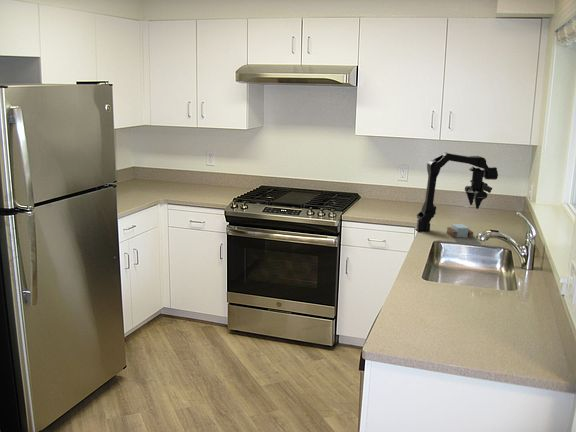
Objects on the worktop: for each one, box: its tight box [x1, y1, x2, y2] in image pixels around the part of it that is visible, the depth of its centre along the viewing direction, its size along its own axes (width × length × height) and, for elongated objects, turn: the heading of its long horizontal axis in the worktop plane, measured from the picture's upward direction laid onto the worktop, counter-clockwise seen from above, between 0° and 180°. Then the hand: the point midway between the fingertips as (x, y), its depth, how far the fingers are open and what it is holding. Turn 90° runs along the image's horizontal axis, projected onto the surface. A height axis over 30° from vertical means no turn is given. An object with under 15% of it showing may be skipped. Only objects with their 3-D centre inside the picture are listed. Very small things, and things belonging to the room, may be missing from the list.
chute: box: [446, 226, 474, 238], centre depth 326 cm, size 12×10×3 cm
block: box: [451, 223, 470, 237], centre depth 326 cm, size 6×8×5 cm
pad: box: [451, 237, 482, 245], centre depth 316 cm, size 12×12×1 cm
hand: (474, 206), depth 333 cm, fingers open, 9 cm apart
